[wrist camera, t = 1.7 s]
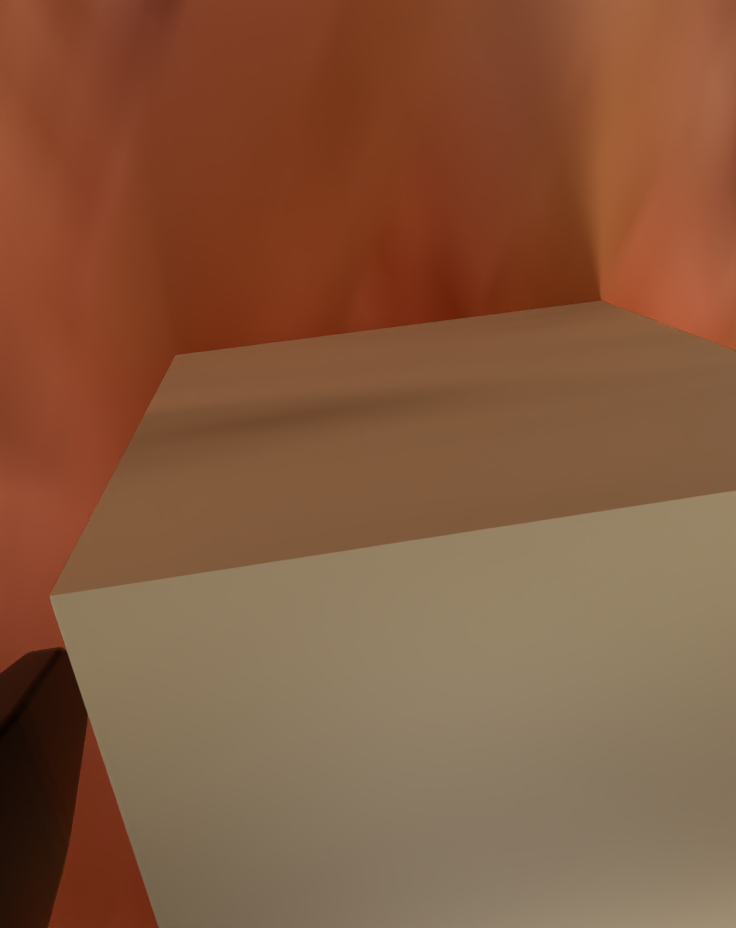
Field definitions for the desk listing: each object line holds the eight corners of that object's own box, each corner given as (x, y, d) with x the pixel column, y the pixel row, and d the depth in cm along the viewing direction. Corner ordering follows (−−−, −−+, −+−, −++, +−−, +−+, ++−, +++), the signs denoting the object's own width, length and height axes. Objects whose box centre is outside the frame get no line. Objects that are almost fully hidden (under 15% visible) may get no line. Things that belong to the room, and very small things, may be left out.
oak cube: (589, 641, 12) (845, 1015, 7) (249, 698, 12) (231, 1151, 6) (598, 299, 10) (1002, 450, 4) (176, 353, 10) (49, 596, 4)
